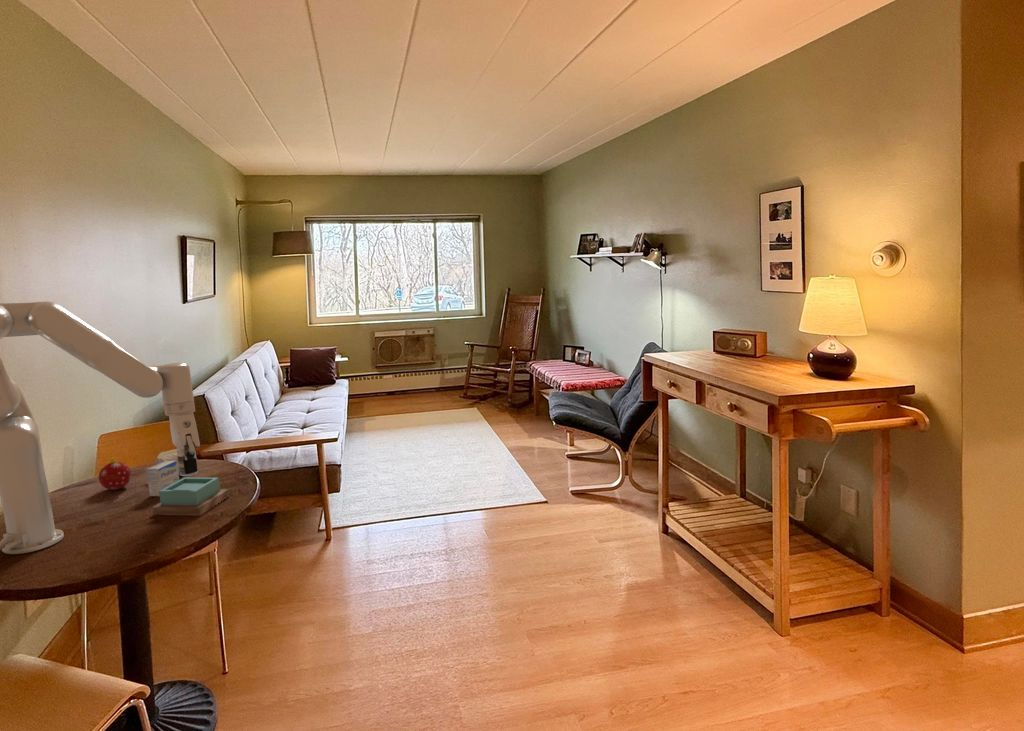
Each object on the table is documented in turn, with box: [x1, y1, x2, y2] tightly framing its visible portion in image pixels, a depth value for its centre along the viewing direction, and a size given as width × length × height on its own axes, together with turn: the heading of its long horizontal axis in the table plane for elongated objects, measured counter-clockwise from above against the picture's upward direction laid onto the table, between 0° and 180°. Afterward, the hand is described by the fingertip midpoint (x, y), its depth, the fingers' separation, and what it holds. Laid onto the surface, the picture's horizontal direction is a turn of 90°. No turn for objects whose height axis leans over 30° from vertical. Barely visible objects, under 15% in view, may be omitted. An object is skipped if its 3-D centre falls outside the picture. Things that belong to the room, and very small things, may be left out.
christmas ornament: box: [98, 457, 132, 491], centre depth 200 cm, size 9×9×10 cm
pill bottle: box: [176, 446, 199, 477], centre depth 181 cm, size 5×5×8 cm
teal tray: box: [159, 476, 221, 505], centre depth 183 cm, size 11×11×4 cm
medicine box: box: [145, 461, 180, 497], centre depth 195 cm, size 8×4×9 cm, turn 168°
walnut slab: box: [152, 488, 230, 517], centre depth 183 cm, size 14×14×3 cm
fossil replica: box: [154, 448, 198, 476], centre depth 212 cm, size 12×8×10 cm
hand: (188, 469), depth 182 cm, fingers closed on pill bottle, 4 cm apart
